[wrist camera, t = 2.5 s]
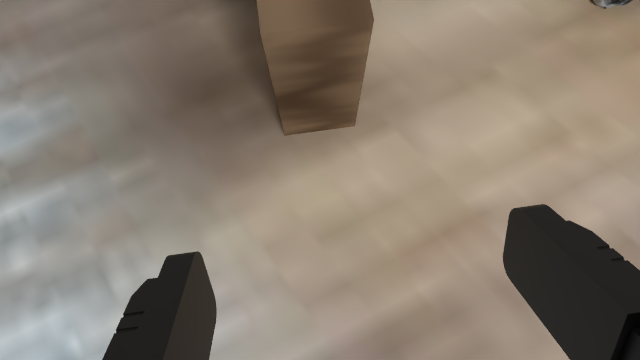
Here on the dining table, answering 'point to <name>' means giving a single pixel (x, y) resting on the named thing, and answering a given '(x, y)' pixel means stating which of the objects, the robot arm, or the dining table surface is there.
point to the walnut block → (316, 59)
